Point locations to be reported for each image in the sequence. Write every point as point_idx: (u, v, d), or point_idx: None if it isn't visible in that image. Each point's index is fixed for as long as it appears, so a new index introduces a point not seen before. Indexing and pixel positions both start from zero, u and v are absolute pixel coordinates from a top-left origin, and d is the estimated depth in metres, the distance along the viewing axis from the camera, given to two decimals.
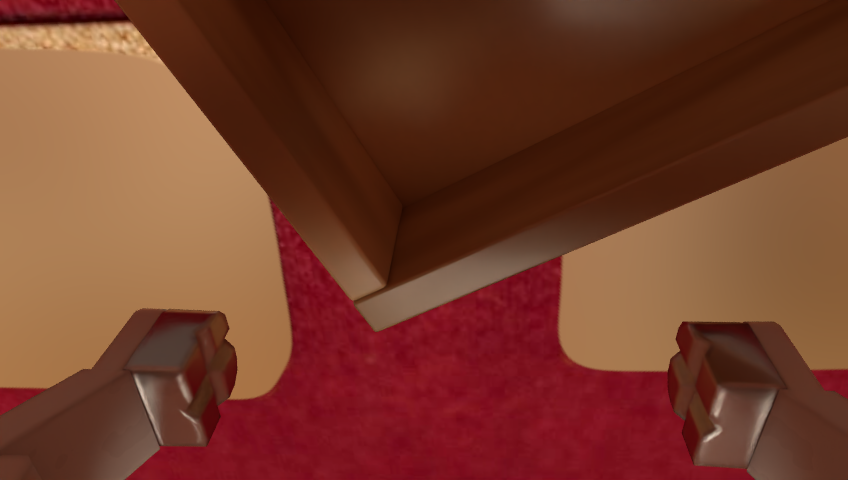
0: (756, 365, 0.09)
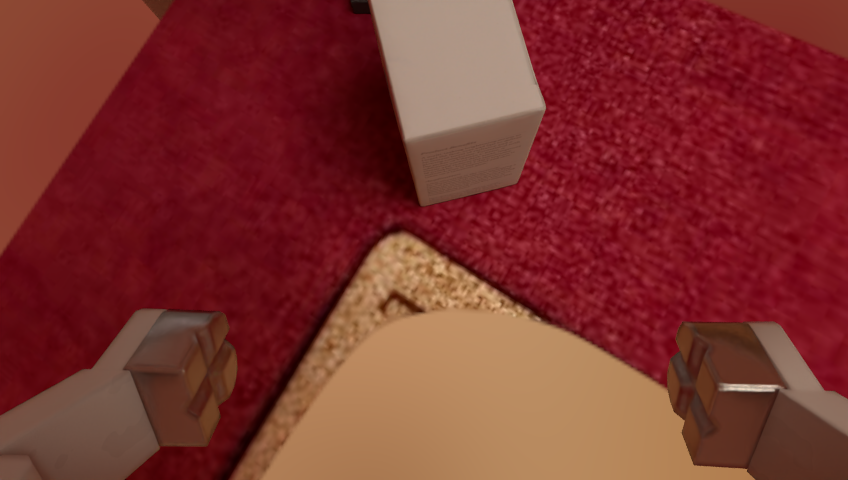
0: (756, 365, 0.09)
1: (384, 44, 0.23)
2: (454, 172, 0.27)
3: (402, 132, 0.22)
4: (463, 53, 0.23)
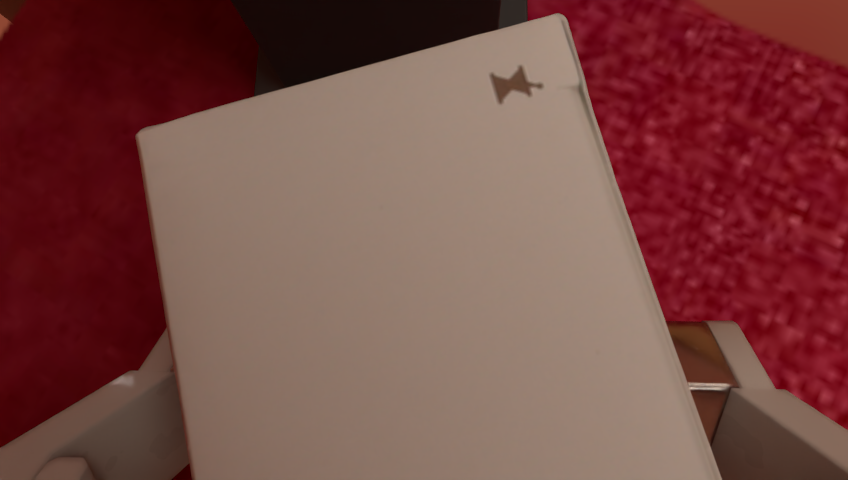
0: (710, 364, 0.09)
1: (193, 434, 0.06)
2: None
3: None
4: (477, 477, 0.06)
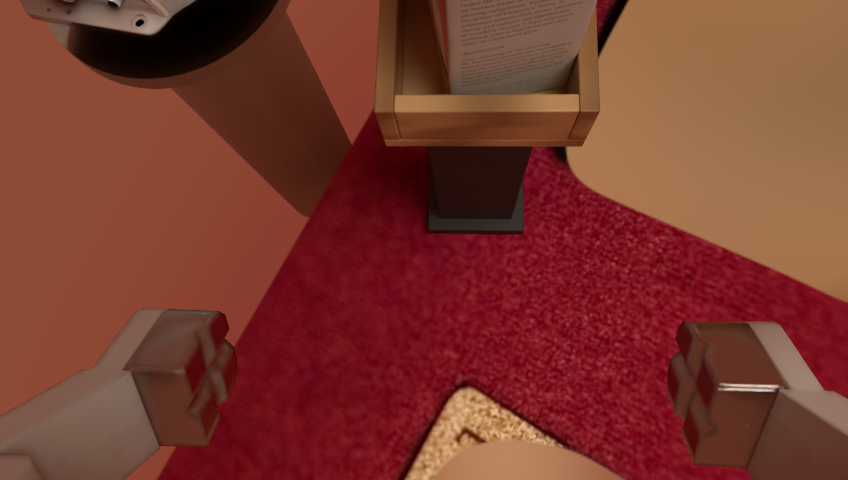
0: (756, 365, 0.09)
1: None
2: (496, 42, 0.22)
3: None
4: None
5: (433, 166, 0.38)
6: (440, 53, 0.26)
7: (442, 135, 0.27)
